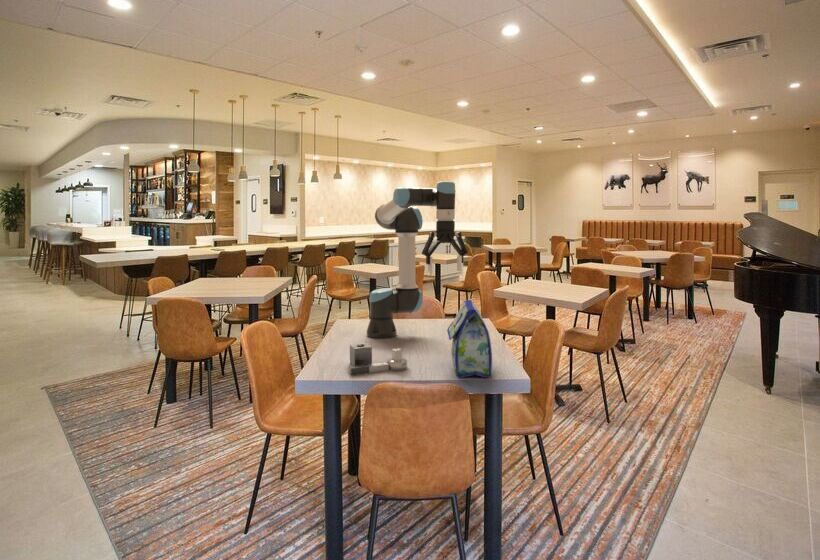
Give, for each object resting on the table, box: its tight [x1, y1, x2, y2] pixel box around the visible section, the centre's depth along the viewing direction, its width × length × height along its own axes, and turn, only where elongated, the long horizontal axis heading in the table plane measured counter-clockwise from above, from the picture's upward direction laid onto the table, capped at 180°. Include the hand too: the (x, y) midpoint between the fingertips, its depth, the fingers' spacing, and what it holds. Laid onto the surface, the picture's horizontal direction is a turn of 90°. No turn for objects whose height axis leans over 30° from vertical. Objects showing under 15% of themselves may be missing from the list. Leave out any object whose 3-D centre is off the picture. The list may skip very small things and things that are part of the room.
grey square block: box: [349, 342, 373, 366], centre depth 190 cm, size 7×7×8 cm
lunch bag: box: [447, 299, 493, 378], centre depth 183 cm, size 22×17×26 cm
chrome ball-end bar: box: [348, 347, 408, 376], centre depth 184 cm, size 8×23×8 cm, turn 113°
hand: (444, 271), depth 199 cm, fingers open, 13 cm apart
